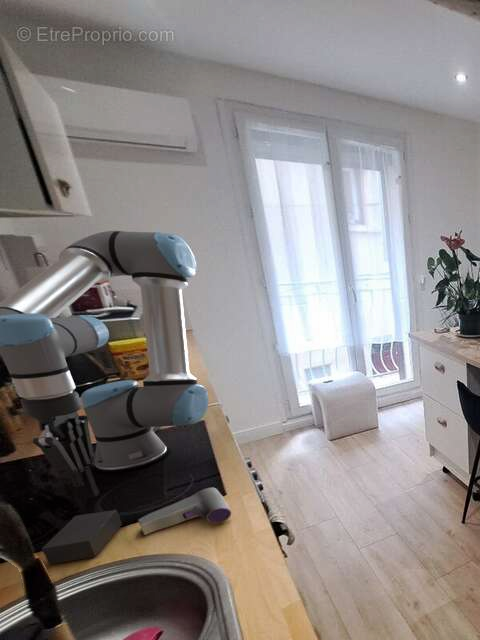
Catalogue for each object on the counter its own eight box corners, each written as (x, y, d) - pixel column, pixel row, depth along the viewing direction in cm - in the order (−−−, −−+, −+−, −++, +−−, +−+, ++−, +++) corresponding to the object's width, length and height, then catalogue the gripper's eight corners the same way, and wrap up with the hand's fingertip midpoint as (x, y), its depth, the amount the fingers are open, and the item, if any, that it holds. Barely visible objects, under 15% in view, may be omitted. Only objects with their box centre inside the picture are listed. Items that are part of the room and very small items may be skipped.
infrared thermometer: (142, 530, 93) (220, 498, 103) (154, 555, 86) (236, 518, 96) (134, 514, 91) (214, 483, 102) (146, 538, 84) (230, 503, 95)
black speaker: (75, 515, 89) (41, 548, 79) (116, 509, 92) (88, 540, 82) (82, 531, 90) (49, 565, 81) (122, 525, 93) (95, 557, 83)
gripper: (45, 385, 85) (83, 483, 93) (-4, 407, 74) (45, 517, 82) (92, 382, 88) (126, 478, 96) (53, 403, 76) (94, 509, 84)
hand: (89, 496), depth 89 cm, fingers closed
